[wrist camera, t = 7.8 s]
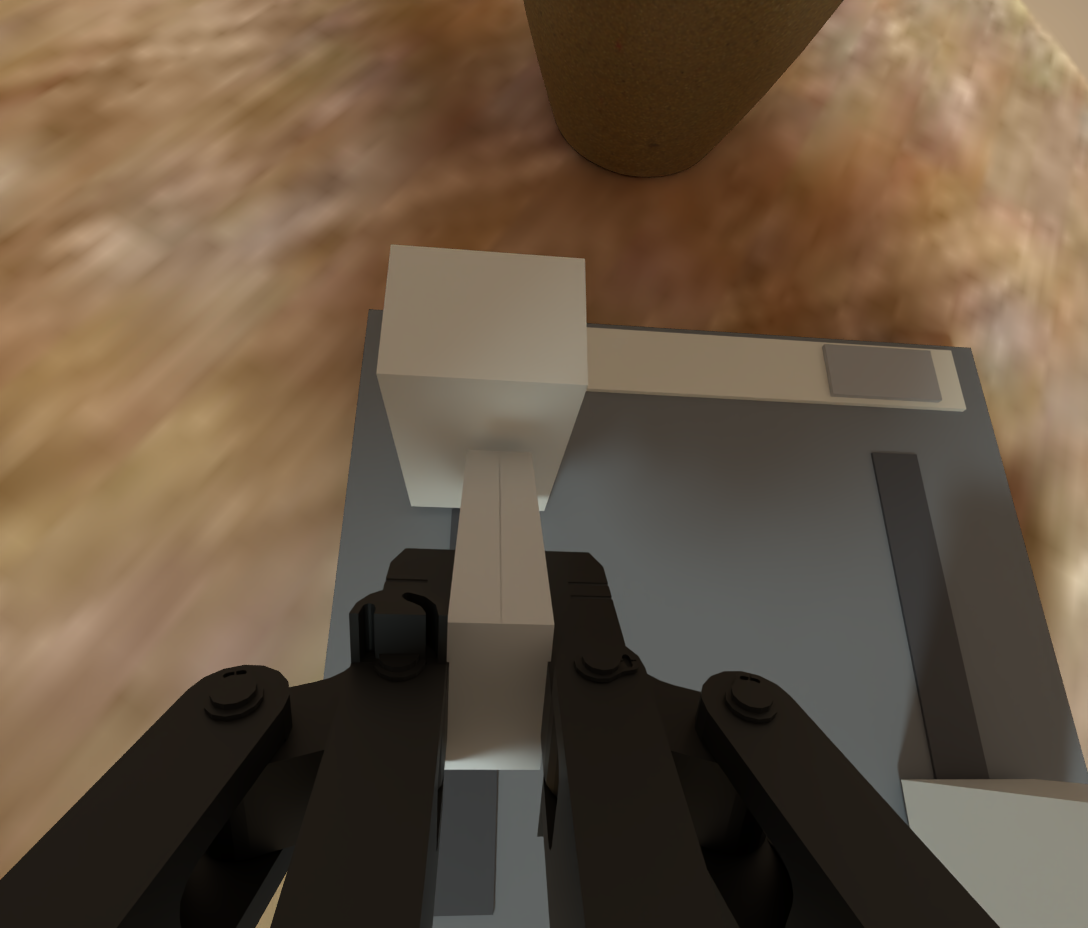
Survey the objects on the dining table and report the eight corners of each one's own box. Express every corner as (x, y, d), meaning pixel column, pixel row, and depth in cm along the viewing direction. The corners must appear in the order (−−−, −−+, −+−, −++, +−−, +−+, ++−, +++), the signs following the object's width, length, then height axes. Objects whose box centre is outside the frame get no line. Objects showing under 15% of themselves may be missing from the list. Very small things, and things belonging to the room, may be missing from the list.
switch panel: (1125, 1081, 18) (1198, 1120, 16) (282, 1126, 16) (258, 1177, 14) (943, 368, 26) (978, 342, 24) (374, 333, 24) (367, 302, 22)
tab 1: (544, 511, 20) (588, 385, 13) (411, 506, 20) (375, 373, 12) (544, 422, 21) (585, 258, 14) (418, 415, 21) (390, 244, 13)
